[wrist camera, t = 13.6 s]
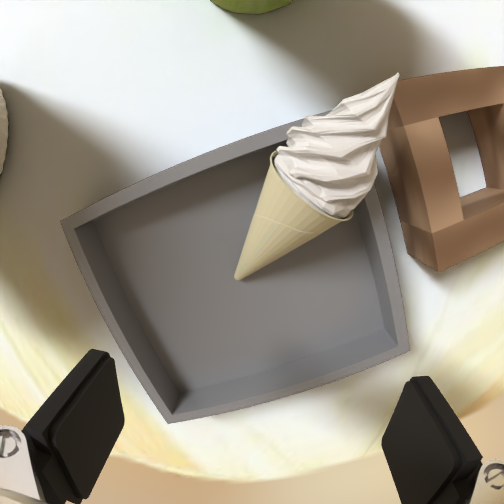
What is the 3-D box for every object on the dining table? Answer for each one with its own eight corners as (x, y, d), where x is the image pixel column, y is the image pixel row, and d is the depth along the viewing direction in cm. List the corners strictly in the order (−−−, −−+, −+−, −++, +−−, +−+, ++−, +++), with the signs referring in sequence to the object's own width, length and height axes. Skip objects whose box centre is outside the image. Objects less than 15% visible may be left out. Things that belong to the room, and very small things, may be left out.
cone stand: (510, 208, 20) (545, 217, 16) (407, 253, 21) (438, 272, 17) (477, 76, 18) (511, 65, 13) (361, 98, 19) (387, 82, 14)
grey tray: (391, 327, 23) (409, 350, 19) (176, 395, 24) (167, 423, 21) (332, 115, 19) (347, 105, 16) (85, 213, 21) (60, 221, 17)
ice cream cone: (263, 254, 23) (404, 81, 14) (278, 316, 20) (462, 128, 11) (197, 238, 21) (336, 28, 12) (204, 306, 18) (395, 60, 9)
